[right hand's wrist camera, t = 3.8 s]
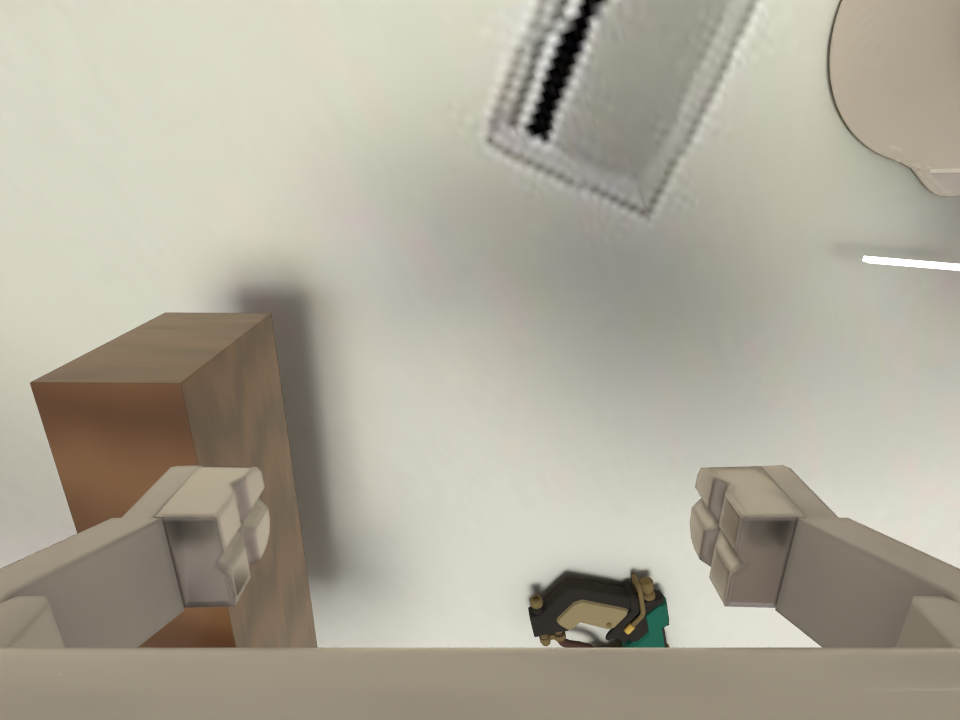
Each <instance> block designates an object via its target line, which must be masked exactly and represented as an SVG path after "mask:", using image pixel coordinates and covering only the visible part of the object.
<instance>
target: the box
mask: <svg viewBox="0 0 960 720" xmlns="http://www.w3.org/2000/svg"><path fill="white" fill-rule="evenodd" d="M30 385H31V388H32V391H33V394H34V397H35V401H36V404H37V407H38V410H39V413H40V416H41V420H42V423H43V426H44V429H45V432H46V435H47V439H48V442H49V445H50V448H51V451H52V454H53V458H54V461H55V464H56V467H57V470H58V473H59V476H60V480H61V483H62V486H63V489H64V492H65V495H66V499H67V502H68V505H69V508H70V511H71V514H72V518H73V521H74V524H75V527H76V530H77V533H80V532H82V531H85V530H87V529H89V528H91V527H93V526H96V525H98V524H100V523H102V522H104V521H107V520H109V519H111V518H122V517H123V516H124V515H125V514H126V513H127V512H128V511H129V509H130V508H131V507H132V506H133V505H134V504H135V503H136V502H137V501H138V500H139V499H140V498H141V497H142V496H143V495H144V494H145V493H146V492H147V491H148V490H149V489H150V488H151V487H152V486H153V485H154V484H155V483H156V482H157V481H158V480H159V479H160V478H161V477H162V476H163V475H164V474H165V473H166V472H167V471H168V470H169V469H170V468H171V467H175V466H197V465H201V466H239V467H257V468H258V469H259V470H260V471H261V472H262V476H263V481H264V486H265V488H264V489H263V491H262V493H261V494H260V496H259V499H260V500H261V501H262V502H263V503H264V504H265V505H266V506H267V507H268V510H269V516H270V533H269V538H268V542H267V546H266V549H265V551H264V553H263V555H262V557H261V559H260V560H259V561H257V562H256V563H254V564H253V565H251V566H250V567H249V571H250V576H251V578H250V580H249V581H248V583H247V585H246V587H245V589H244V591H243V593H242V594H241V596H240V598H239V600H238V602H237V604H236V606H226V607H191V608H184V611H183V612H182V613H180V614H179V615H178V616H177V617H175V618H174V619H173V620H172V621H170V622H169V623H168V624H167V625H165V626H164V627H163V628H162V629H160V630H159V631H158V632H157V633H155V634H154V635H153V636H152V637H150V638H149V639H148V640H146V641H145V642H144V643H143V644H141V645H140V646H139V647H138V648H317V641H316V634H315V627H314V619H313V612H312V605H311V598H310V591H309V583H308V576H307V569H306V562H305V554H304V547H303V540H302V533H301V526H300V518H299V511H298V504H297V497H296V490H295V482H294V475H293V468H292V461H291V453H290V446H289V439H288V432H287V425H286V417H285V410H284V403H283V396H282V389H281V381H280V374H279V367H278V360H277V352H276V345H275V338H274V331H273V324H272V316H271V313H164V314H162V315H160V316H158V317H156V318H154V319H152V320H150V321H148V322H146V323H144V324H142V325H140V326H139V327H137V328H135V329H133V330H131V331H129V332H127V333H125V334H123V335H121V336H119V337H117V338H115V339H113V340H111V341H110V342H108V343H106V344H104V345H102V346H100V347H98V348H96V349H94V350H92V351H90V352H88V353H86V354H84V355H82V356H81V357H79V358H77V359H75V360H73V361H71V362H69V363H67V364H65V365H63V366H61V367H59V368H57V369H55V370H53V371H52V372H50V373H48V374H46V375H44V376H42V377H40V378H38V379H36V380H34V381H32V382H30Z"/></svg>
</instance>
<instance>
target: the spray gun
mask: <svg viewBox="0 0 960 720" xmlns="http://www.w3.org/2000/svg"><path fill="white" fill-rule="evenodd" d="M631 579H632V584H631V583H628V582H627V583H626V584H625V585H624V587H618V586H613V585H607V584H602V583H596V582H590V581H584V580H578V579H572V578H566V579H565V580H563V581H562V582H561V583H560V584H559V585H558V586H557V587H556V588H555V589H554V590H553V591H552V592H551V593H550V594H549V595H548V596H547V597H546V598H545V599H544V600H542V598H541V596H539V595H534V596H532V597H531V599H530V602H531V607H529V608H528V609H529V615H530V620H531V625H532V629H533V633H534V636H535V637H538V636H539V638H540V642H541V643H542V645H544V646H548V645H549V644H550V640H552V639H555V640H556V641H558V643H559V644H560V645H561V646H563V647H565V648H596V647H594V646H592V645H590V644H587V643H584V642H580V641H573V640H568V639H566V635H565V631H567V630H571V629H573V628H575V626H576V625H577V624H578V623H579V622H582V623H586V624H590V625H594V626H598V627H602V628H606V629H611V630H610V631H609V632H608V633H607V635H606V640H611V639H613V638H617V639H619V640H622V647H621V648H669V645H668V644H667V643H666V637H665V631H664V627H665V626H667V625H669V616H668V609H667V603H666V598H665V597H664V596H663V594H662V593H661V592H660V591H658V590H654V586H653V580H652V579H651V578H650V577H642V578H641V579H640V580H638V578H637V576H636V574H632V575H631Z"/></svg>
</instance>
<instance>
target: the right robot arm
mask: <svg viewBox="0 0 960 720" xmlns="http://www.w3.org/2000/svg"><path fill="white" fill-rule="evenodd" d="M829 68H830V80H831V87H832V91H833V95H834V99H835V102H836V105H837V107H838V110H839V112H840V114H841V116H842V118H843V120H844V122H845V123H846V125H847V126H848V128H849V129H850V130H851V132H852V133H853V134H854V135H855V136H856V137H857V138H858V139H859V140H860V141H861V142H862V143H863V144H864V145H866V146H867V147H868V148H870V149H871V150H873V151H874V152H876V153H878V154H880V155H882V156H884V157H887V158H889V159H892V160H895V161H897V162H900V163H902V164H904V165H906V166H908V167H909V168H911V169H912V170H913V172H914V173H915V174H916V176H917V177H918V178H919V179H920V181H921V182H922V183H923V184H924V185H925V186H926V188H927V189H928V190H930V191H931V192H932V193H934V194H935V195H938V196H958V195H960V0H842V2H841V4H840V7H839V10H838V13H837V16H836V20H835V24H834V28H833V33H832V38H831V45H830V58H829ZM862 261H864V262H868V263H875V264H887V265H899V266H911V267H923V268H934V269H946V270H958V271H960V264H953V263H941V262H930V261H918V260H906V259H894V258H882V257H870V256H864V257H863V260H862ZM264 488H265V486H264V481H263V476H262V472H261V471H260V470H259V469H258V468H257V467H239V466H201V465H197V466H175V467H171V468H170V469H169V470H168V471H167V472H166V473H165V474H164V475H163V476H162V477H161V478H160V479H159V480H158V481H157V482H156V483H155V484H154V485H153V486H152V487H151V488H150V489H149V490H148V491H147V492H146V493H145V494H144V495H143V496H142V497H141V498H140V499H139V500H138V501H137V502H136V503H135V504H134V505H133V506H132V507H131V508H130V509H129V511H128V512H127V513H126V514H125V515H124V516H123V517H122V518H111V519H109V520H107V521H104V522H102V523H100V524H98V525H96V526H93V527H91V528H89V529H87V530H85V531H82V532H80V533H78V534H76V535H74V536H71V537H69V538H67V539H65V540H63V541H60V542H58V543H56V544H54V545H52V546H49V547H47V548H45V549H43V550H41V551H38V552H36V553H34V554H32V555H30V556H27V557H25V558H23V559H21V560H19V561H16V562H14V563H12V564H10V565H8V566H5V567H3V568H1V569H0V720H960V569H959V568H956V567H954V566H952V565H950V564H948V563H945V562H943V561H941V560H939V559H937V558H934V557H932V556H930V555H928V554H926V553H924V552H921V551H919V550H917V549H915V548H913V547H910V546H908V545H906V544H904V543H902V542H899V541H897V540H895V539H893V538H891V537H888V536H886V535H884V534H882V533H880V532H878V531H875V530H873V529H871V528H869V527H867V526H864V525H862V524H860V523H858V522H856V521H853V520H851V519H849V518H838V517H837V516H836V515H835V514H834V513H833V511H832V510H831V509H830V508H829V507H828V506H827V505H826V504H825V503H824V502H823V501H822V500H821V499H820V498H819V497H818V496H817V495H816V494H815V493H814V492H813V491H812V490H811V489H810V488H809V487H808V486H807V485H806V484H805V483H804V482H803V481H802V480H801V479H800V478H799V477H798V476H797V475H796V474H795V473H794V472H793V470H792V469H791V468H789V467H786V466H784V465H775V466H750V467H710V468H701V469H700V471H699V473H698V475H697V480H696V486H695V488H696V489H697V491H698V493H699V494H700V496H701V499H700V500H699V501H698V502H697V503H696V504H695V505H694V506H693V507H692V510H691V518H690V531H691V539H692V543H693V546H694V549H695V551H696V553H697V555H698V557H699V559H700V560H701V561H703V562H704V563H706V564H707V565H709V566H710V567H711V571H710V576H709V578H710V580H711V581H712V583H713V585H714V587H715V589H716V591H717V593H718V594H719V596H720V598H721V600H722V602H723V604H724V605H725V606H732V607H769V608H776V609H775V610H776V611H777V612H779V613H780V614H781V615H782V616H784V617H785V618H786V619H787V620H789V621H790V622H791V623H792V624H794V625H795V626H796V627H797V628H799V629H800V630H801V631H802V632H804V633H805V634H806V635H807V636H809V637H810V638H811V639H812V640H814V641H815V642H816V643H817V644H819V645H820V646H821V647H822V648H138V647H139V646H140V645H141V644H143V643H144V642H145V641H146V640H148V639H149V638H150V637H152V636H153V635H154V634H155V633H157V632H158V631H159V630H160V629H162V628H163V627H164V626H165V625H167V624H168V623H169V622H170V621H172V620H173V619H174V618H175V617H177V616H178V615H179V614H180V613H182V612H183V611H184V608H191V607H226V606H236V604H237V602H238V600H239V598H240V596H241V594H242V593H243V591H244V589H245V587H246V585H247V583H248V581H249V580H250V578H251V576H250V571H249V567H250V566H251V565H253V564H254V563H256V562H257V561H259V560H260V559H261V557H262V555H263V553H264V551H265V549H266V546H267V542H268V538H269V533H270V516H269V510H268V507H267V506H266V505H265V504H264V503H263V502H262V501H261V500H260V499H259V496H260V494H261V493H262V491H263V489H264Z"/></svg>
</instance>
